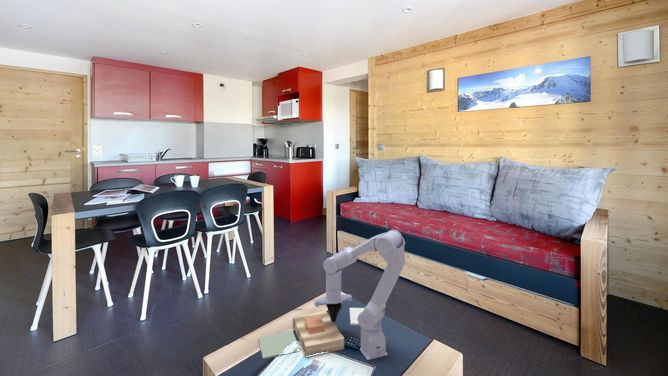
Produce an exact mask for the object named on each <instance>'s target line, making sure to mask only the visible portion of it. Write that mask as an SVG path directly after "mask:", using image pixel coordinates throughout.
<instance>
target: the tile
mask: <svg viewBox="0 0 668 376" xmlns="http://www.w3.org/2000/svg"><path fill="white" fill-rule="evenodd" d="M304 324H305V326H306V329H307V331H308V333H309V334H313V333H318V332H323V331H325V324H324V322H323V321H322V319H321V317H320V316H319V315H318V316H312V317H307V318H304Z"/></svg>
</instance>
